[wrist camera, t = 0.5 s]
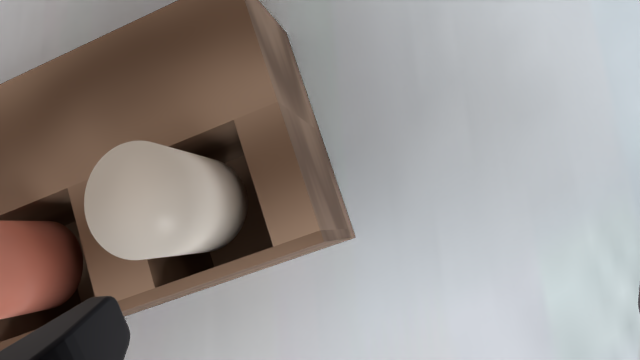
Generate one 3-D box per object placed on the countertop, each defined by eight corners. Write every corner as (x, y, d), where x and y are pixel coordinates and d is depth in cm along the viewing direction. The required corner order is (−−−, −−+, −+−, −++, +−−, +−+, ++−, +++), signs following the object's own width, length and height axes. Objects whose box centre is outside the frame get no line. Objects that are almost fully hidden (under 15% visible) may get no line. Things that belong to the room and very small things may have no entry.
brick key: (92, 294, 20) (-1, 312, 16) (19, 320, 20) (-88, 344, 16) (71, 208, 20) (-24, 205, 16) (0, 236, 21) (-108, 239, 17)
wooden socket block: (355, 237, 23) (323, 242, 17) (-39, 372, 27) (-172, 412, 21) (286, 33, 24) (235, -27, 19) (-77, 191, 29) (-210, 182, 23)
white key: (259, 234, 18) (205, 238, 14) (175, 264, 19) (100, 275, 15) (231, 145, 19) (171, 122, 15) (150, 177, 19) (72, 164, 15)
